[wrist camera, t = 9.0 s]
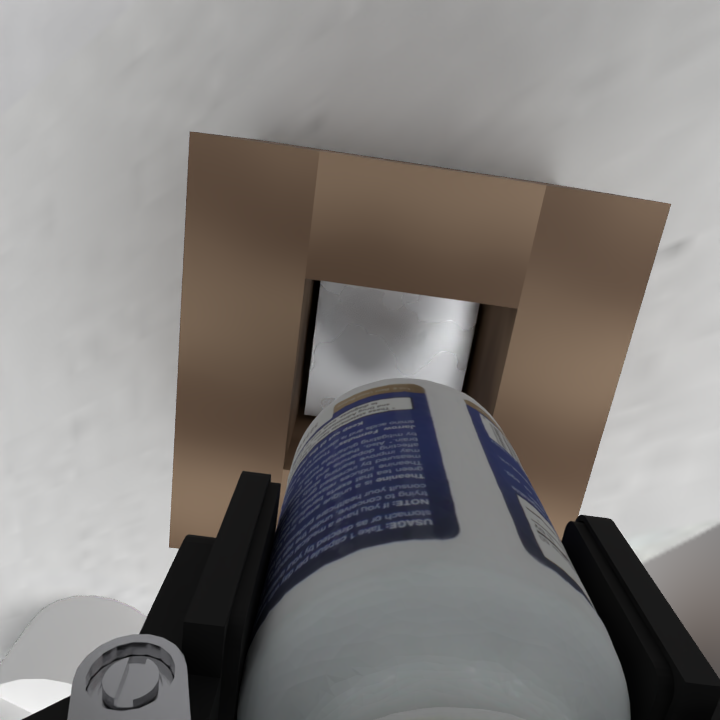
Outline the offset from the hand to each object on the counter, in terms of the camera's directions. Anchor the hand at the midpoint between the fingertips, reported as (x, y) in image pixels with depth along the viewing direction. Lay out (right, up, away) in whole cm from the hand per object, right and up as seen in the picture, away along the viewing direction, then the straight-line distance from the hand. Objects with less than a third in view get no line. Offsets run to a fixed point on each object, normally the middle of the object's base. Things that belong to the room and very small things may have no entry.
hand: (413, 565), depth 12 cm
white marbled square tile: (0, +4, +13) cm, 14 cm away
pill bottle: (0, +1, +4) cm, 4 cm away
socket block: (0, +6, +19) cm, 20 cm away
